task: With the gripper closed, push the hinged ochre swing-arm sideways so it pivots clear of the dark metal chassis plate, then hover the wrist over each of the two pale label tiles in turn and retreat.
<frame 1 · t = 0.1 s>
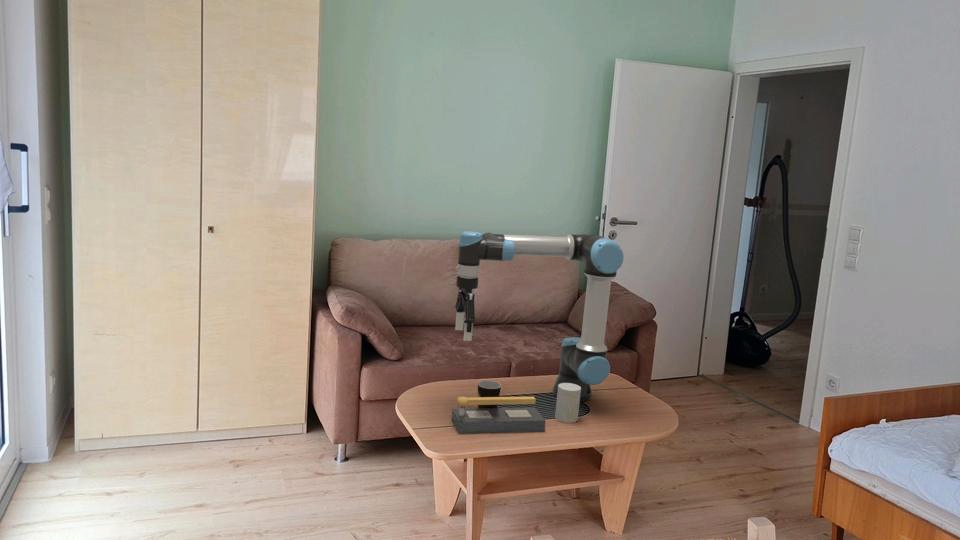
hand: (463, 335, 257), 28 cm above the table, fingers open, 13 cm apart
coffee mug: (488, 410, 265), on the table
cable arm: (496, 400, 249), point 9 cm above the table, hinge at 0.0°
gray cylinder: (566, 419, 262), on the table
chassis: (497, 425, 251), on the table
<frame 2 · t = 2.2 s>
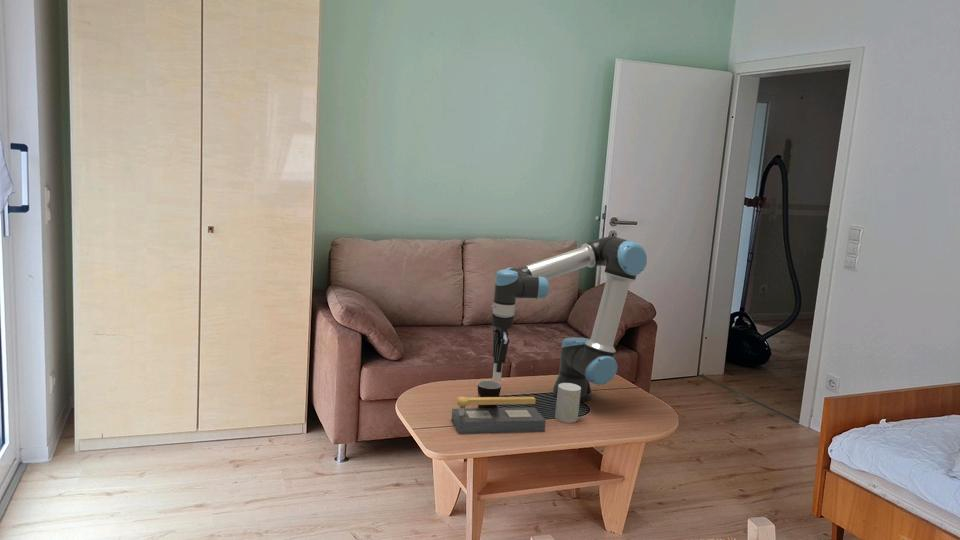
hand: (496, 379, 256), 14 cm above the table, fingers closed
nothing on the table moved.
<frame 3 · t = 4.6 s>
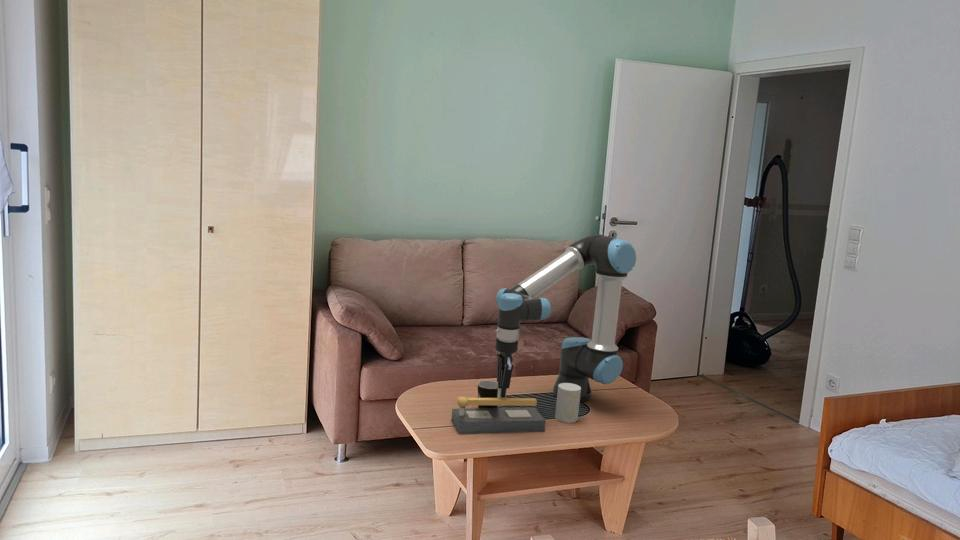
hand: (501, 405, 251), 7 cm above the table, fingers closed
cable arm: (497, 401, 248), point 9 cm above the table, hinge at 3.7°, touching gripper
everything else where it was.
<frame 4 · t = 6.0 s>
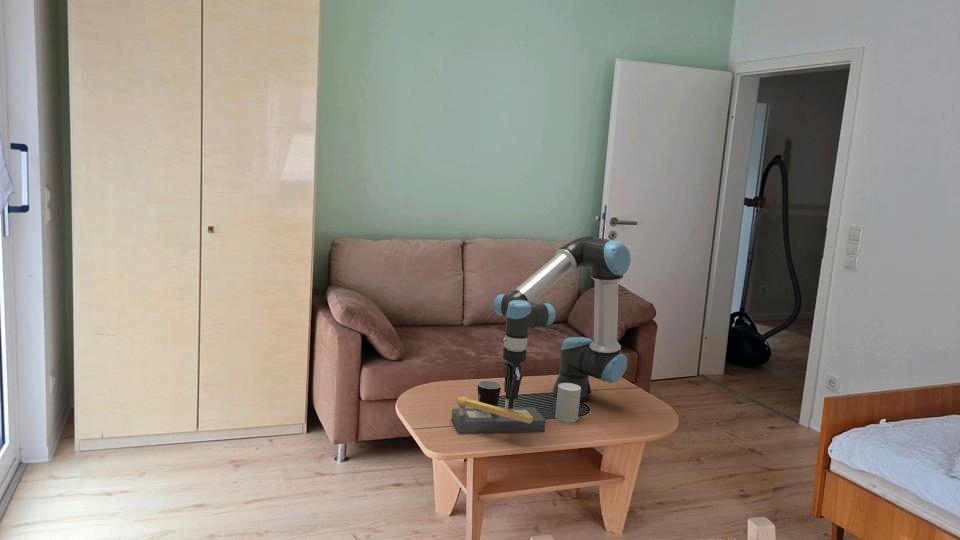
hand: (508, 416, 241), 7 cm above the table, fingers closed
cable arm: (493, 409, 241), point 9 cm above the table, hinge at 42.4°, touching gripper
everything else where it was.
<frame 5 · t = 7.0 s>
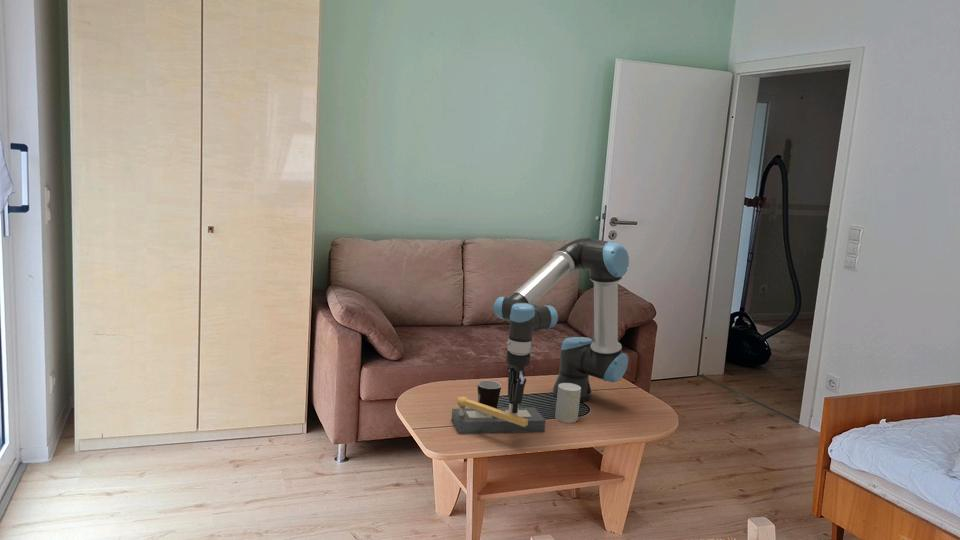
hand: (512, 421, 238), 7 cm above the table, fingers closed
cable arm: (491, 411, 239), point 9 cm above the table, hinge at 50.4°, touching gripper
everything else where it was.
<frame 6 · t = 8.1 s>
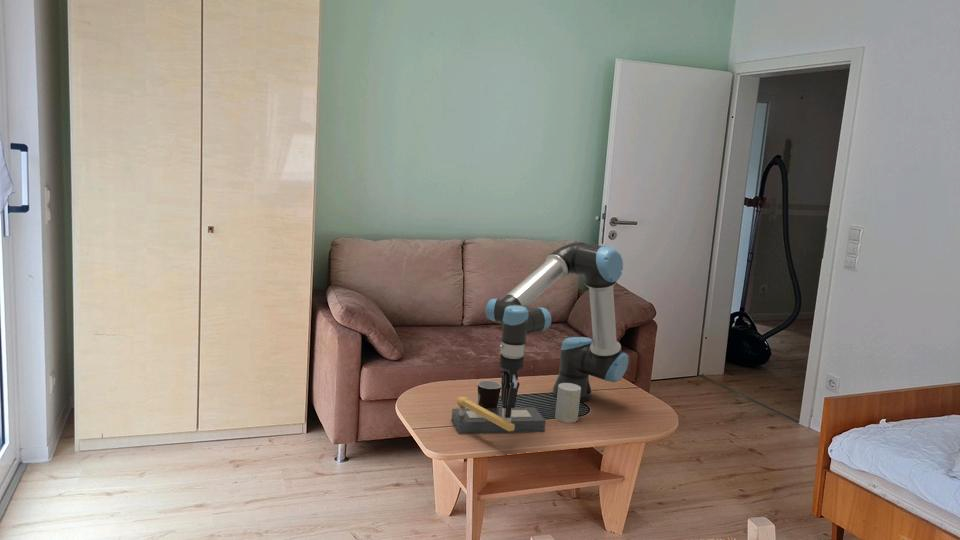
hand: (505, 425, 233), 7 cm above the table, fingers closed
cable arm: (484, 413, 237), point 9 cm above the table, hinge at 65.8°, touching gripper
everything else where it was.
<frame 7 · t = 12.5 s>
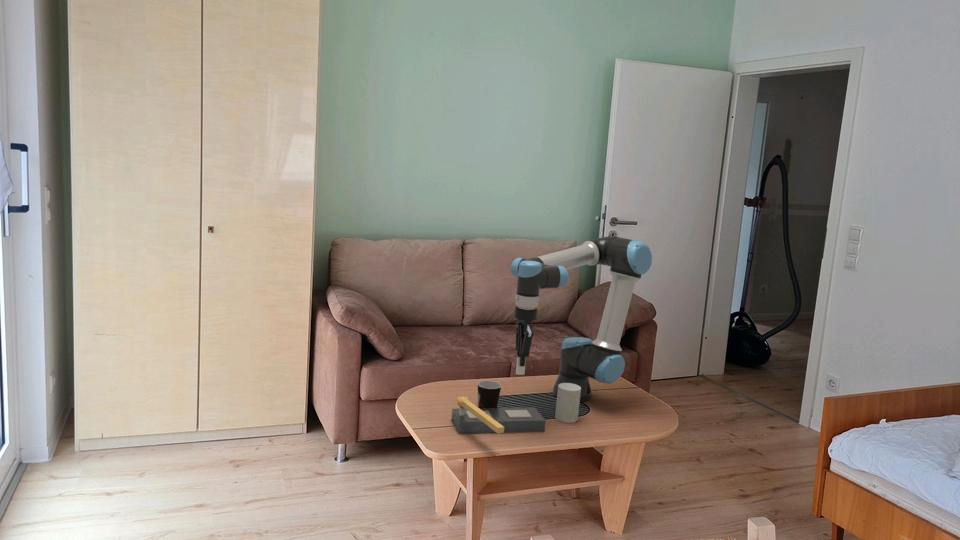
hand: (519, 374, 249), 19 cm above the table, fingers closed
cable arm: (479, 414, 236), point 9 cm above the table, hinge at 75.1°
everything else where it was.
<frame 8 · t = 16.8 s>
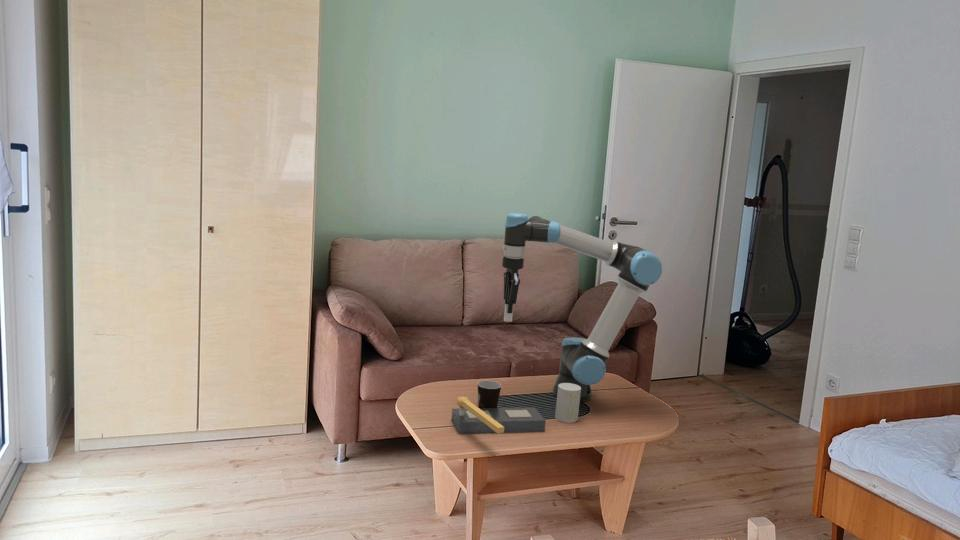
hand: (507, 321, 264), 32 cm above the table, fingers closed
nothing on the table moved.
at the end: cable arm at +75° (first picture: +0°) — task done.
